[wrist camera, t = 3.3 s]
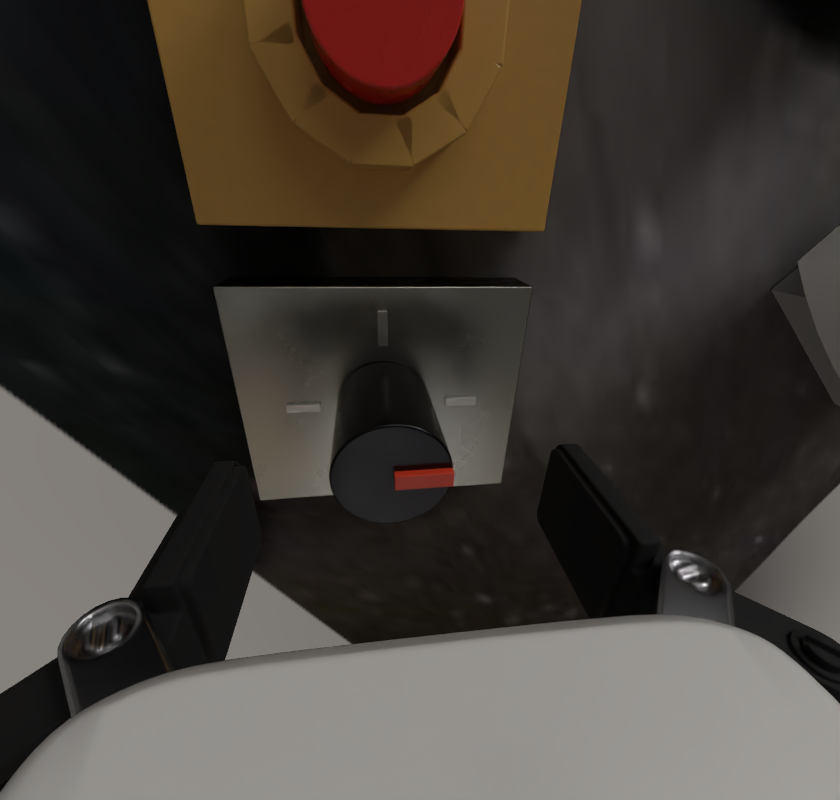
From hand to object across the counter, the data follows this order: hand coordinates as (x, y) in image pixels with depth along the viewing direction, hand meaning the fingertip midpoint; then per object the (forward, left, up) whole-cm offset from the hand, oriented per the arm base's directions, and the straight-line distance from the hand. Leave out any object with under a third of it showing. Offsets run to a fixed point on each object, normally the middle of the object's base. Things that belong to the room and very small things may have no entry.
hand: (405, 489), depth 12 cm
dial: (0, 0, -6) cm, 6 cm away
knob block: (0, +12, -8) cm, 14 cm away
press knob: (0, +12, -4) cm, 13 cm away
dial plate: (0, 0, -8) cm, 8 cm away
